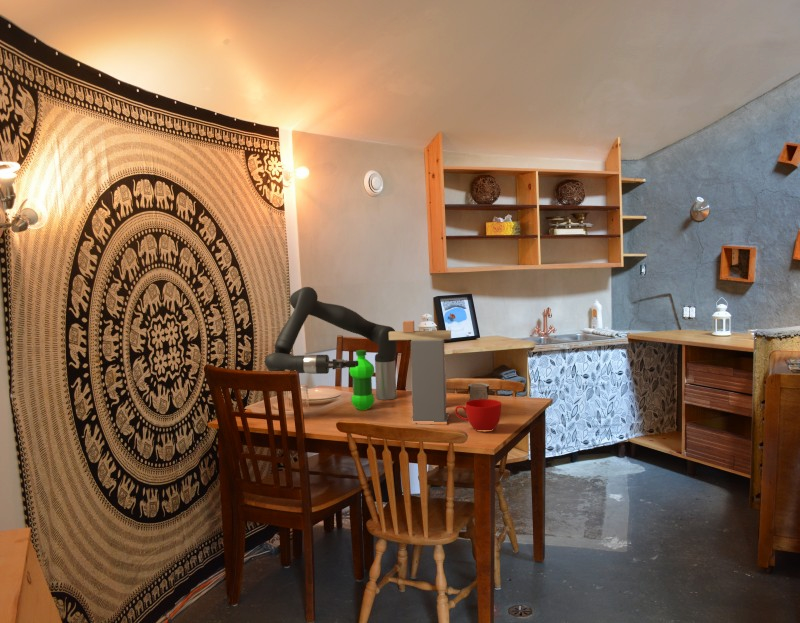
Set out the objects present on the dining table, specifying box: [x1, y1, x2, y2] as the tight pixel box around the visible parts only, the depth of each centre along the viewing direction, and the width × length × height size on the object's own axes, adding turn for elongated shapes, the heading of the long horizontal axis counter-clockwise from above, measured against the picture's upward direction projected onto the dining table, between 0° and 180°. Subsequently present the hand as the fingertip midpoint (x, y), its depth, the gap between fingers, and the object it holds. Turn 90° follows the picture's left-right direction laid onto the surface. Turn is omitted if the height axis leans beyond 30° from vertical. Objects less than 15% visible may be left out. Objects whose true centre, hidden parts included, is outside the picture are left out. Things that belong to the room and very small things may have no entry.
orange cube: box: [402, 320, 416, 332], centre depth 244 cm, size 4×4×4 cm
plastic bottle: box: [348, 349, 375, 411], centre depth 266 cm, size 10×10×25 cm
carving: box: [468, 384, 489, 401], centre depth 251 cm, size 6×8×12 cm
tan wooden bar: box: [389, 329, 452, 341], centre depth 243 cm, size 4×24×3 cm, turn 83°
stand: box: [410, 339, 450, 423], centre depth 244 cm, size 14×14×32 cm
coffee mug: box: [467, 382, 490, 396], centre depth 262 cm, size 12×9×10 cm
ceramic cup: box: [454, 398, 502, 430], centre depth 229 cm, size 13×17×10 cm
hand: (357, 364), depth 247 cm, fingers open, 8 cm apart
